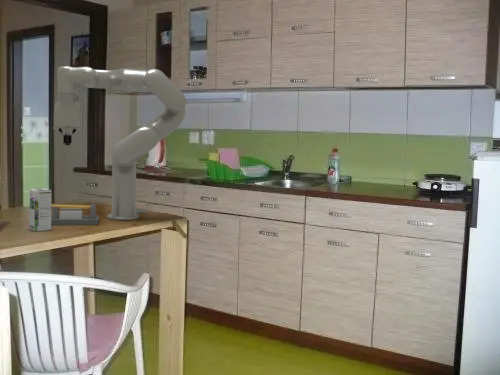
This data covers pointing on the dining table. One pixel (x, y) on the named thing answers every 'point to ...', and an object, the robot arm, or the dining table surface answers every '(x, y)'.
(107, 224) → the dining table surface
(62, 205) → the yellow long flat bar
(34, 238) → the dining table surface
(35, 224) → the syrup box
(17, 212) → the dining table surface
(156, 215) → the dining table surface
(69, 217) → the base
